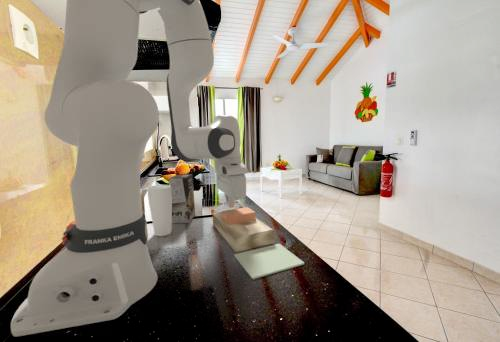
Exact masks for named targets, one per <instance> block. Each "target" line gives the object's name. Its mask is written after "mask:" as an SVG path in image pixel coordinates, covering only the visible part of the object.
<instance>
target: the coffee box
mask: <svg viewBox="0 0 500 342" xmlns="http://www.w3.org/2000/svg"><path fill="white" fill-rule="evenodd" d="M193 177H194V175H193V174H192V173H187V174H186V173H185V174H175V175H174V176H171V177H169V178H168V185H170V186H171V192H172V224H188V223H190V222H191V221H192V219H194V217H195V216H196V207H195V192H194V178H193ZM194 215H195V216H194Z"/></svg>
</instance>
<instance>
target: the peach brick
mask: <svg viewBox="0 0 500 342" xmlns="http://www.w3.org/2000/svg"><path fill="white" fill-rule="evenodd" d="M220 212H221V218H222V220H223V221H224V222H225V223H226V224H227V225H232V224H237V223H243V222H248V221H254V220H256V218H257V217H256V211H254V210H253V209H251V208H249V207H248V206H247V207H240V208H234V209H227V210H223V211H220Z"/></svg>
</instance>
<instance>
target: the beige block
mask: <svg viewBox="0 0 500 342" xmlns="http://www.w3.org/2000/svg"><path fill="white" fill-rule="evenodd" d="M212 225H213V226H214V228H215V229H216V230H217V231H218V233H219V234H220V235H221V236H222V237H223V239H224V240H225V241H226V242H227V243H228V245H229V246H230V247H231V248H232V250H233V251H234V252H235V253H241V252H245V251H249V250H253V249H255V248H256V249H258V248H262V247H266V246H270V245H274V229H273V228H271V227H270V226H269V225H267V224H266V223H264V222H263V221H261V220H260V218H257V217H256V220H254V221H248V222H243V223H237V224H232V225H227V224H226V223H225V222H224V221H223V220H222V218H221V211H219V212H213V213H212Z"/></svg>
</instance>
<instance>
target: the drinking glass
mask: <svg viewBox="0 0 500 342" xmlns="http://www.w3.org/2000/svg"><path fill="white" fill-rule="evenodd" d="M147 197H148V206H149V211H150V216H151V221H152V226H153V234H154V236H156V237H166V236H169V235H171V234H172V232H173V223H172V192H171V186H170V185H169V184H156V185H151V186H148V187H147Z"/></svg>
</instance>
